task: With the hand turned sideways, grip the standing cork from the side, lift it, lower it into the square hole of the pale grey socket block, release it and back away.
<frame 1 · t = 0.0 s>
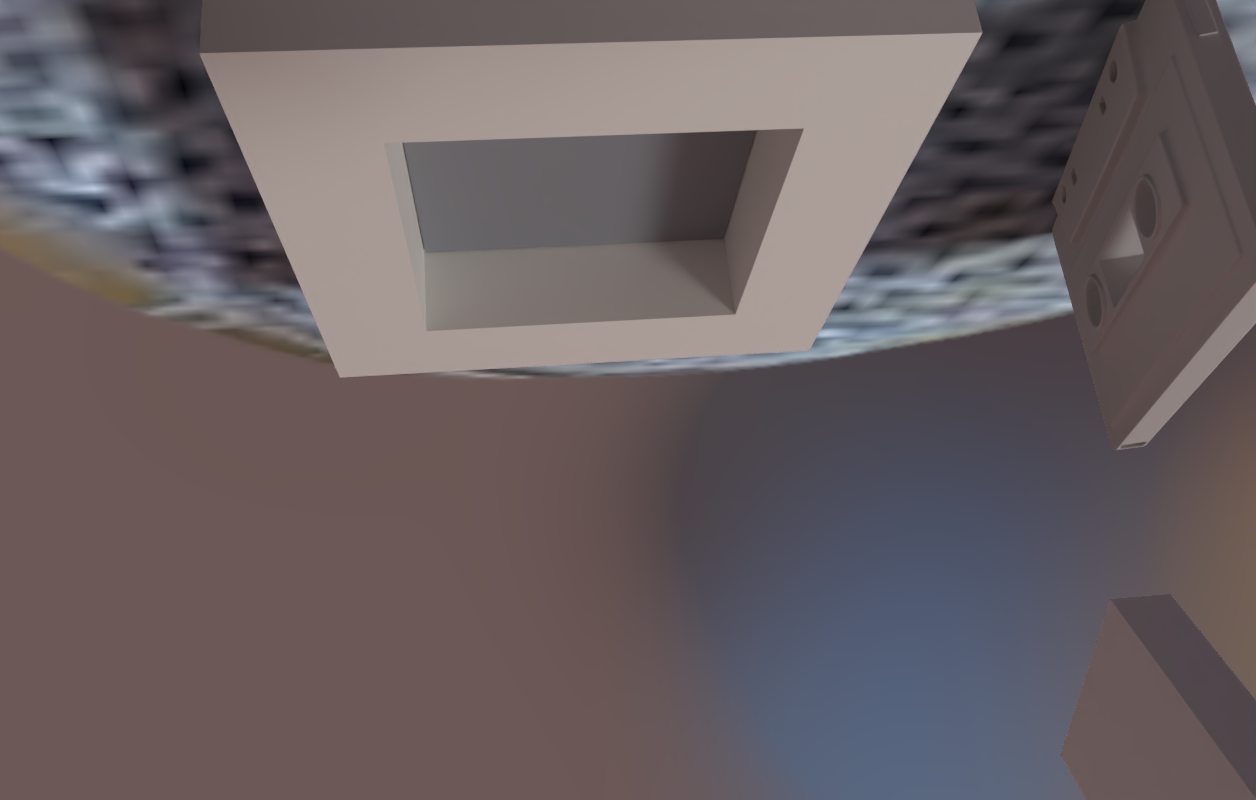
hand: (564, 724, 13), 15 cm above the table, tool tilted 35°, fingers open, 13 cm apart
cassette: (1108, 111, 29), on the table
socket block: (578, 121, 27), on the table
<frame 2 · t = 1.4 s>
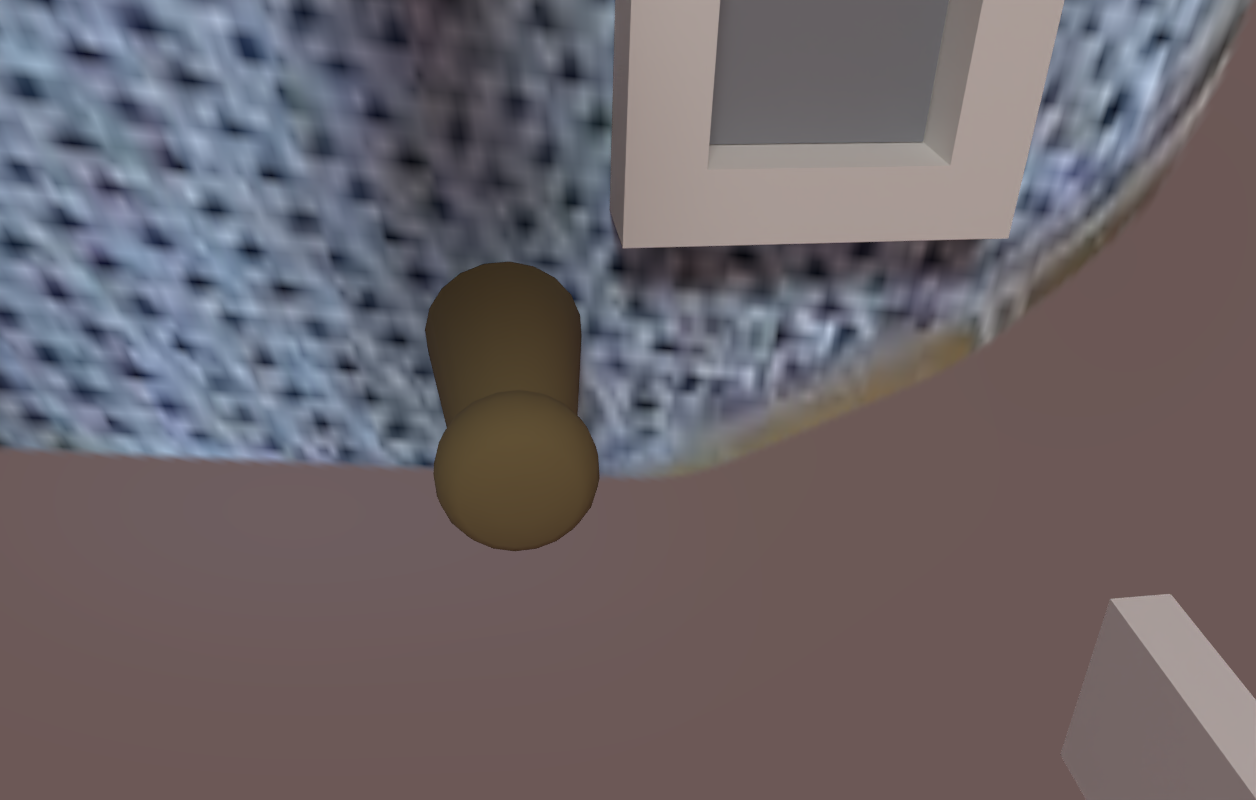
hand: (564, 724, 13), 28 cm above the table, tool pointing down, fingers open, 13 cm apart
cork: (503, 330, 42), on the table
socket block: (816, 13, 37), on the table
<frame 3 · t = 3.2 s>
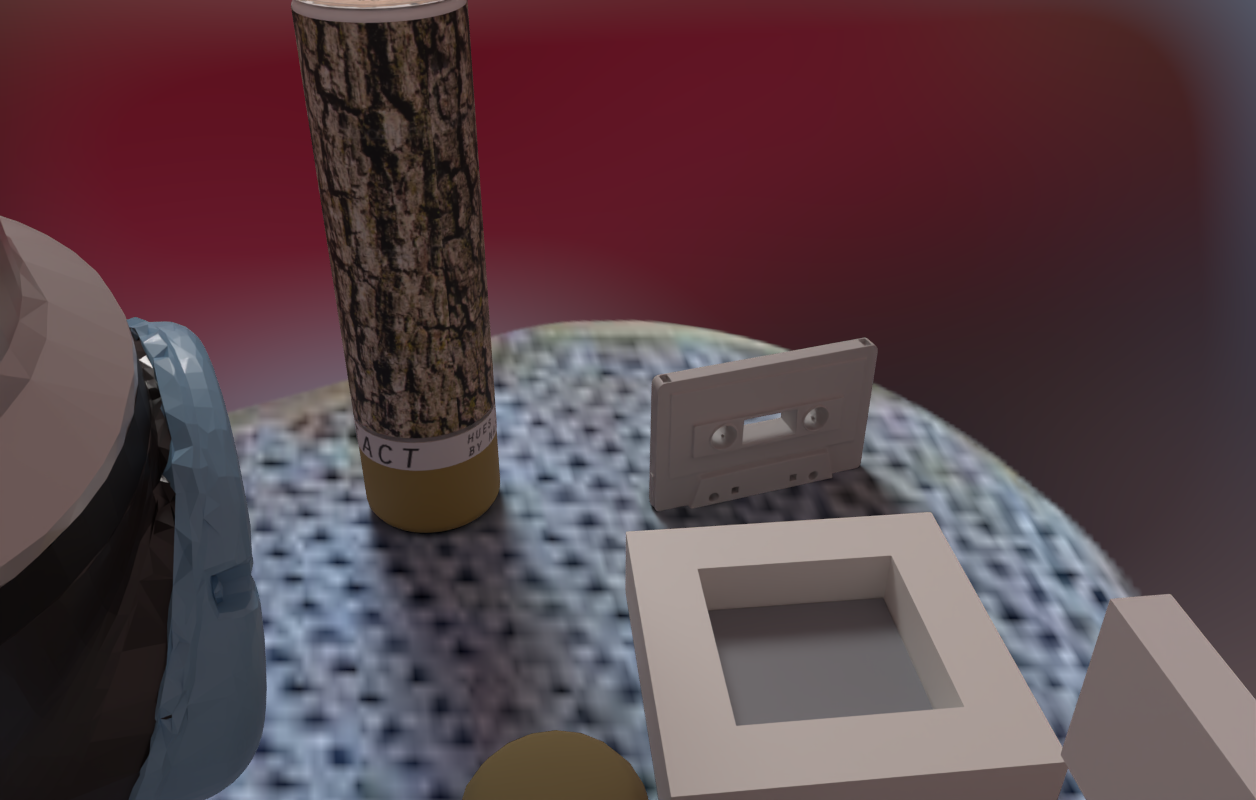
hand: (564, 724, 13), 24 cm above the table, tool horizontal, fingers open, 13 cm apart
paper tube: (435, 500, 56), on the table
cassette: (756, 488, 57), on the table
socket block: (812, 694, 45), on the table
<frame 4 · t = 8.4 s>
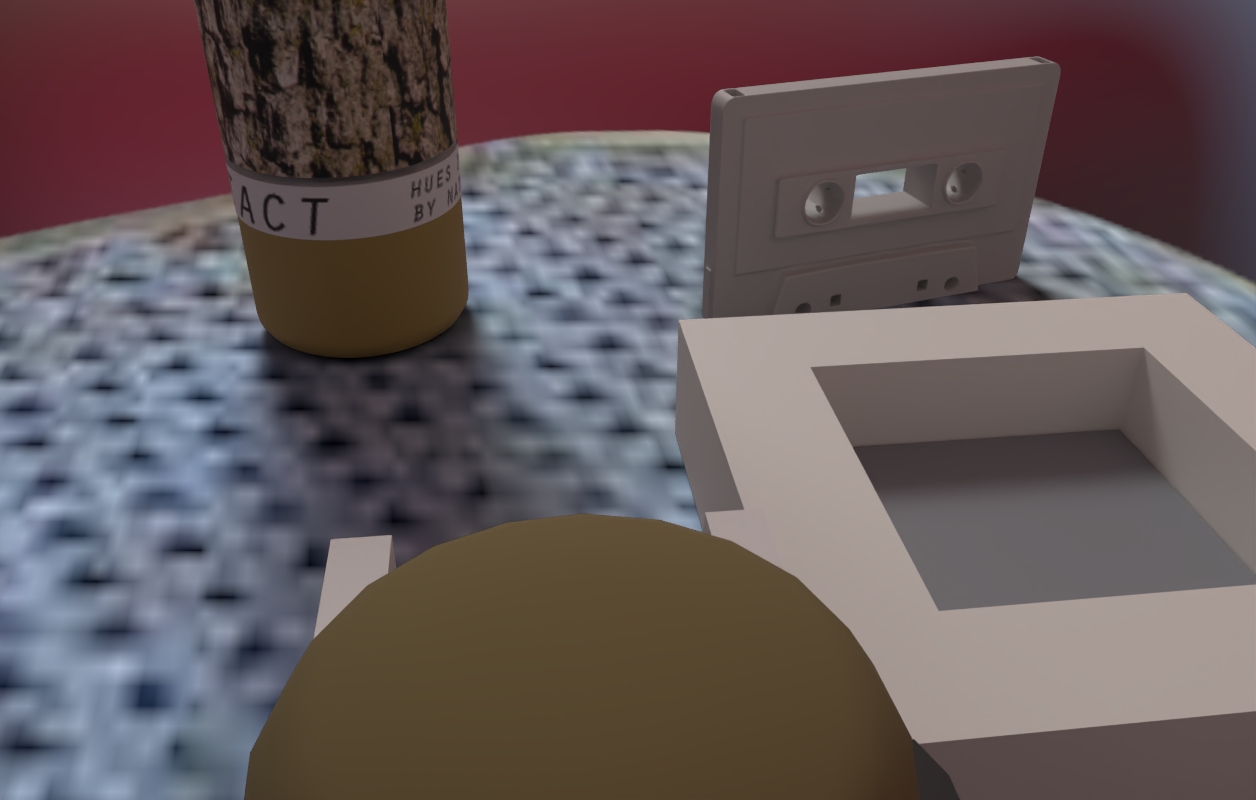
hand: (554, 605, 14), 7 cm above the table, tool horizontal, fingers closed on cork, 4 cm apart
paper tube: (368, 322, 36), on the table
cassette: (864, 306, 37), on the table
socket block: (1026, 581, 25), on the table
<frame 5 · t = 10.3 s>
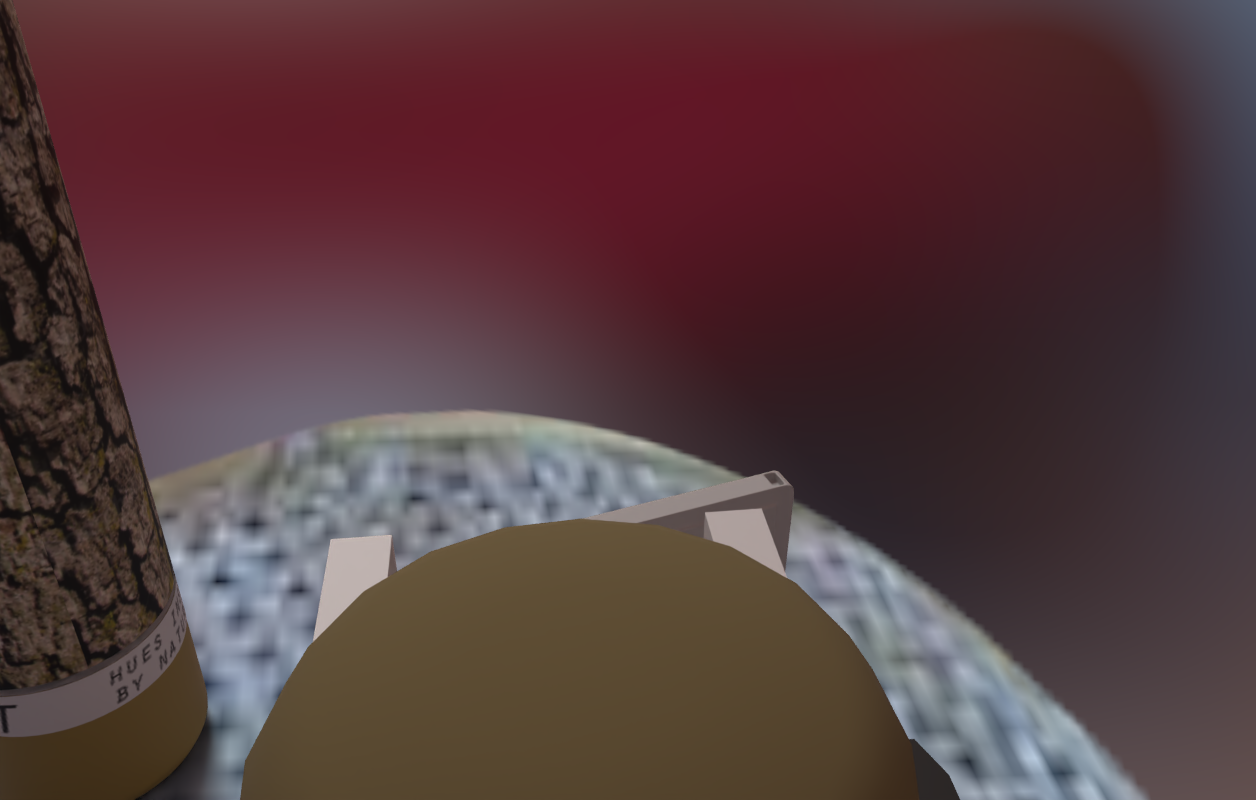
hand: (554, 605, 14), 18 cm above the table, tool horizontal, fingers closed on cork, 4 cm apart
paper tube: (104, 745, 35), on the table
cassette: (617, 699, 37), on the table
when the fingers open (9 cm above the table, at t = 12.7 s): cork drops 1 cm, resting on socket block.
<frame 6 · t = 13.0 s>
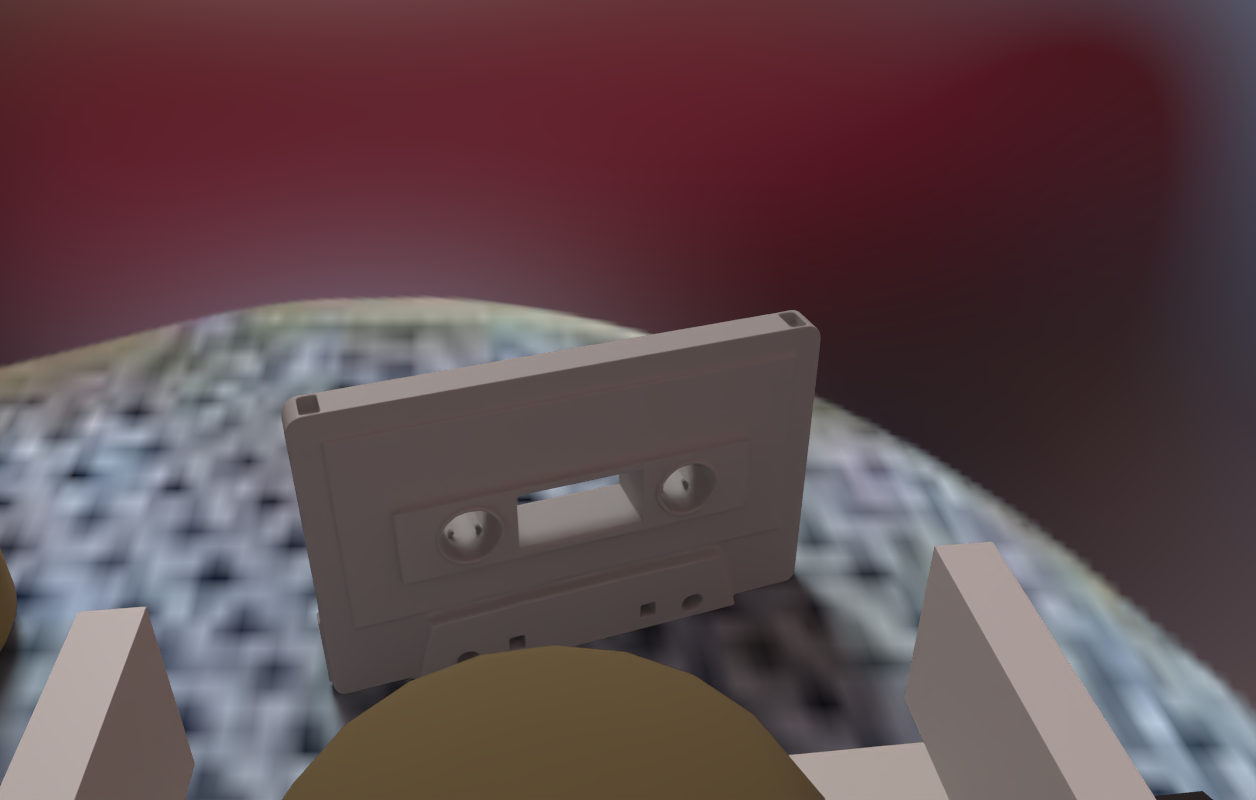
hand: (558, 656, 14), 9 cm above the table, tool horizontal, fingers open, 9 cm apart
cassette: (574, 630, 27), on the table
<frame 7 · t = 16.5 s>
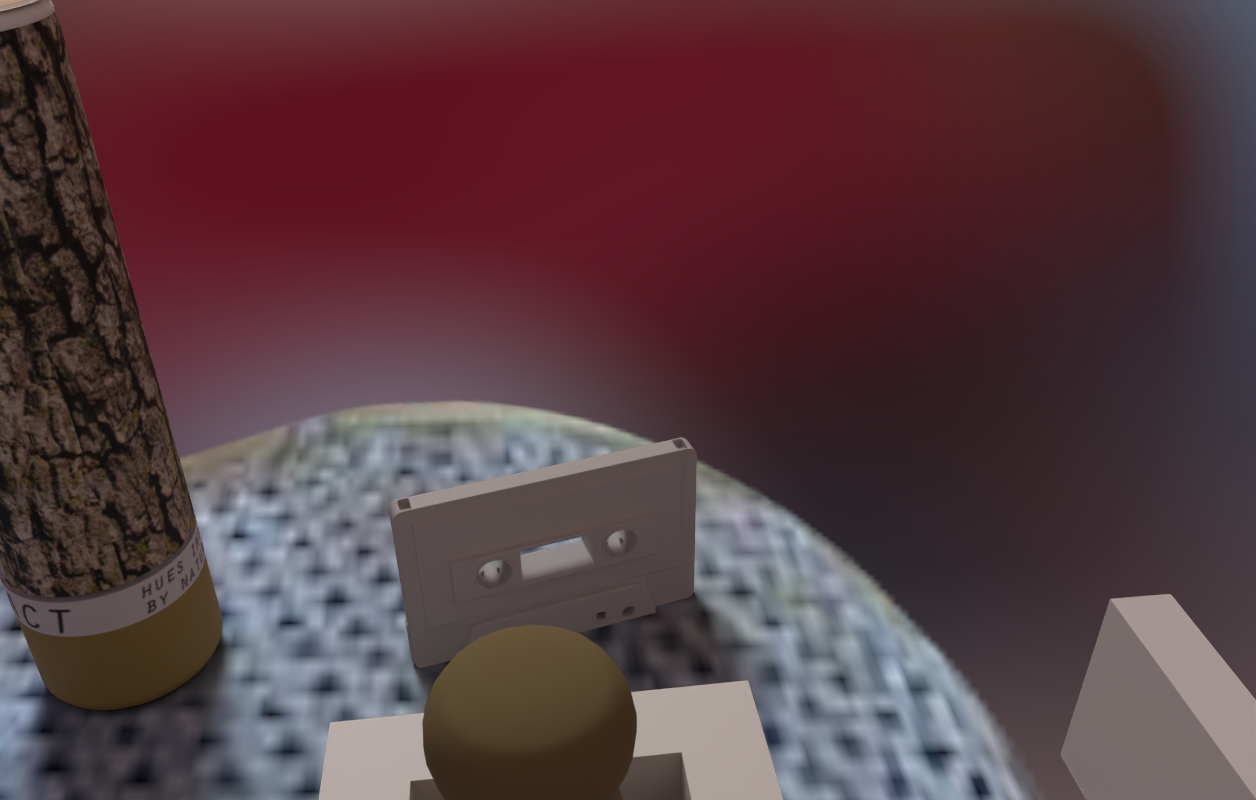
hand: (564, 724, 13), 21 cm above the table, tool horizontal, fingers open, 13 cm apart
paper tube: (139, 659, 43), on the table
cassette: (557, 629, 45), on the table
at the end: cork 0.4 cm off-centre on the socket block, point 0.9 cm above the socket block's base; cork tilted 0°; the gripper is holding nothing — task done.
